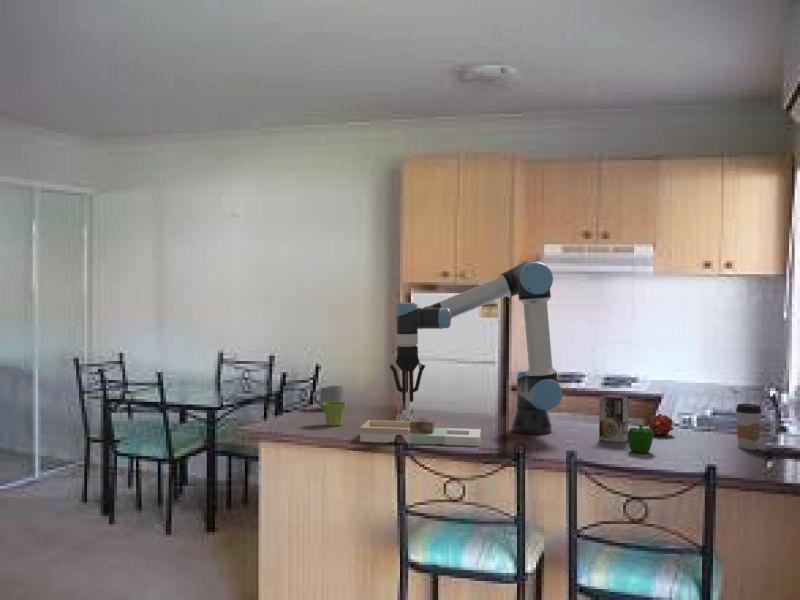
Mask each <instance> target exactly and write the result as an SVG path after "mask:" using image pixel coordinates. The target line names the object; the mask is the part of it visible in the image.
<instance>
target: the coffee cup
mask: <svg viewBox="0 0 800 600" xmlns="http://www.w3.org/2000/svg"><path fill="white" fill-rule="evenodd" d="M735 412H736V413H735V414H736V433H737V434H736V435H737V436H736V437H737V446H738V448H739V449H741V450H749V451H754V450H758V448H759V440H760V431H761V417H762V416H761V415H762V413H763V412H762V408H761V405H759V404H755V403H738V404H736V408H735Z"/></svg>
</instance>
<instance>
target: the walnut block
mask: <svg viewBox="0 0 800 600" xmlns="http://www.w3.org/2000/svg"><path fill="white" fill-rule="evenodd" d="M434 428H435V418H429V417H428V418H425V417H424V418H419V417H414V418H412V420H411V421H410V433H429V434H432V433H433V431H434Z"/></svg>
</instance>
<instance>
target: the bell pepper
mask: <svg viewBox="0 0 800 600" xmlns="http://www.w3.org/2000/svg"><path fill="white" fill-rule="evenodd" d="M644 427H645V425H644V423H640V424H639V425H638V428H637V427H629V428H628V442H627V443H628V446H629V450H630V451H631V452H632V453H638V454H647V453H649V451H650V450H651V448H652V445H653V439H654V435H653V432H652V431H651V429H650V428H644Z"/></svg>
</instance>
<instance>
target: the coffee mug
mask: <svg viewBox="0 0 800 600" xmlns="http://www.w3.org/2000/svg"><path fill="white" fill-rule="evenodd" d="M317 395H319V398H320V399H319V400H318V399H317ZM312 399H313V402H314V403H315V404H317V405H318V406H320V410H321V411H324V412H325V410H324V406H323V404H322V403H324V402H344V386H342V385H323V386H320V389H319V390H315V391H314V392H313V394H312Z"/></svg>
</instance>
